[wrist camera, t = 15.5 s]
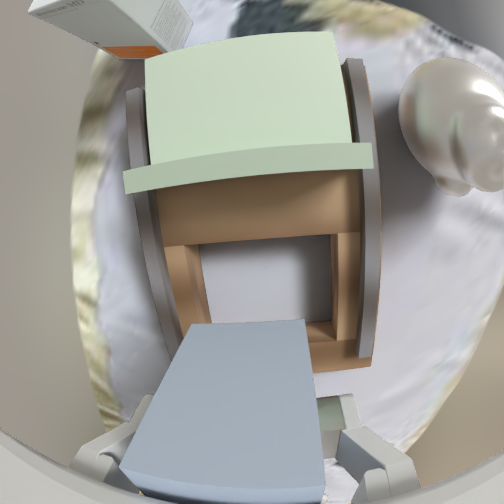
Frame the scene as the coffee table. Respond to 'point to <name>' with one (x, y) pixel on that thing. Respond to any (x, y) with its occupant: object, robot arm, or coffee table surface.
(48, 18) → the skincare box
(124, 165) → the coffee table surface
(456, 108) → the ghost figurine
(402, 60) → the coffee table surface
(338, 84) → the lid
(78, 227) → the coffee table surface
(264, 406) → the block
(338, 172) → the wooden box frame
